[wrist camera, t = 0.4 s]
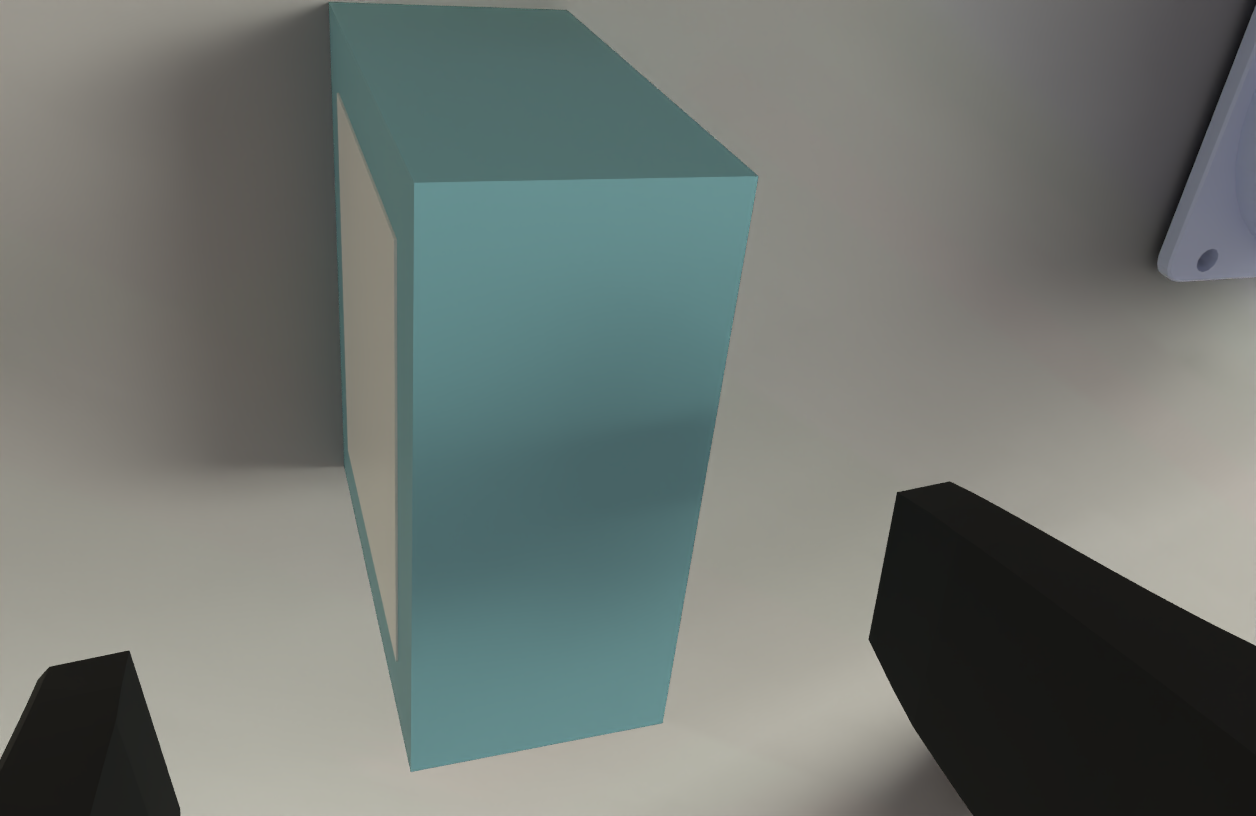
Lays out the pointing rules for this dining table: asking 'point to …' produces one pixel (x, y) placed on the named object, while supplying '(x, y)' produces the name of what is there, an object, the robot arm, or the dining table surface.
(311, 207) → the dining table surface
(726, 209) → the teal block
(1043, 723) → the robot arm
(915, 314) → the dining table surface
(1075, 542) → the dining table surface
